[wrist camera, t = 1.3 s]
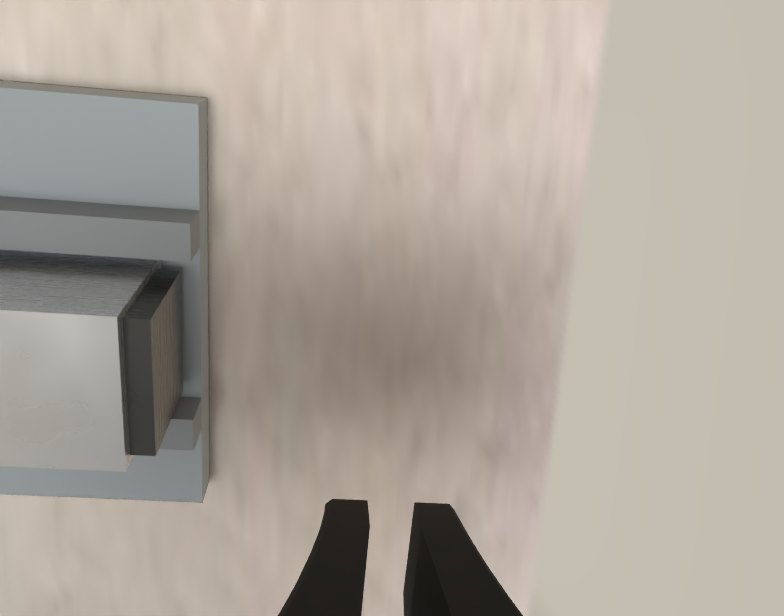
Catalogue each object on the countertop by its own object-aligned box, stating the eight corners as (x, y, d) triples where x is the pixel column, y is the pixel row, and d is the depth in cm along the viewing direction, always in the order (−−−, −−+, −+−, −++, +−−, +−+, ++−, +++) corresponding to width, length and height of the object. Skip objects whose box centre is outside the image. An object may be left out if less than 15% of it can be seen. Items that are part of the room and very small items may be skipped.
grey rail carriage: (186, 390, 21) (151, 473, 18) (-17, 379, 21) (-96, 461, 17) (183, 257, 20) (145, 318, 16) (-36, 242, 19) (-128, 301, 16)
